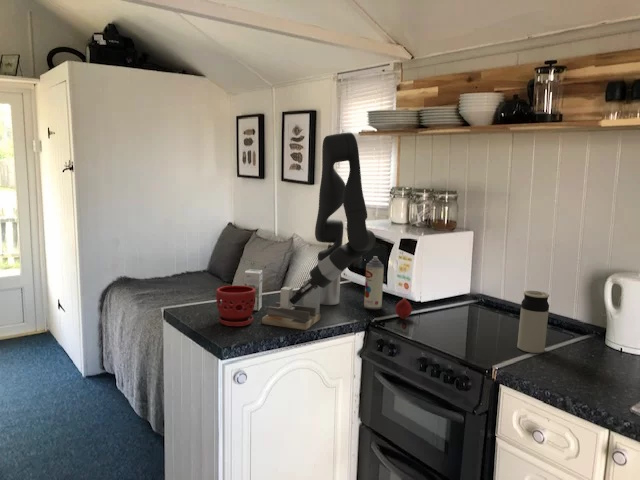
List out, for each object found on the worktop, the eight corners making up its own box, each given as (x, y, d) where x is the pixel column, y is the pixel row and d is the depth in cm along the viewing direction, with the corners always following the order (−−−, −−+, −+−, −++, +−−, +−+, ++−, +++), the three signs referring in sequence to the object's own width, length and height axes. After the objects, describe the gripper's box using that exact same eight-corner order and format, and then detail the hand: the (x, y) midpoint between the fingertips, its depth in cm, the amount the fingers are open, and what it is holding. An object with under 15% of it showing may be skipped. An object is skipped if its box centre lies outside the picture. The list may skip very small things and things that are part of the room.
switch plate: (278, 313, 197) (279, 299, 196) (320, 319, 191) (320, 305, 191) (262, 323, 183) (262, 309, 183) (305, 330, 178) (306, 315, 178)
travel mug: (516, 351, 166) (522, 294, 164) (517, 343, 174) (522, 289, 171) (544, 355, 163) (550, 297, 161) (543, 347, 171) (549, 292, 168)
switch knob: (281, 312, 191) (282, 286, 189) (294, 313, 189) (295, 287, 188) (276, 315, 187) (277, 288, 185) (290, 317, 185) (291, 290, 184)
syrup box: (261, 307, 204) (262, 269, 202) (258, 311, 198) (259, 272, 196) (247, 306, 204) (247, 268, 202) (243, 310, 198) (244, 271, 196)
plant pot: (261, 320, 186) (262, 287, 185) (241, 331, 175) (242, 295, 173) (230, 315, 192) (230, 282, 190) (208, 324, 180) (208, 289, 178)
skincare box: (319, 310, 202) (320, 279, 200) (319, 314, 198) (320, 281, 196) (303, 310, 202) (304, 278, 200) (302, 313, 198) (303, 281, 196)
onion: (407, 322, 192) (408, 300, 191) (392, 319, 195) (393, 297, 194) (413, 318, 197) (414, 297, 195) (398, 315, 200) (400, 294, 198)
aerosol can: (361, 305, 213) (364, 255, 210) (377, 304, 215) (380, 254, 212) (368, 309, 206) (370, 258, 203) (384, 308, 208) (387, 258, 205)
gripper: (326, 259, 187) (292, 289, 193) (313, 265, 175) (277, 298, 181) (339, 276, 187) (305, 305, 192) (327, 283, 174) (291, 315, 180)
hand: (291, 302), depth 187 cm, fingers closed
